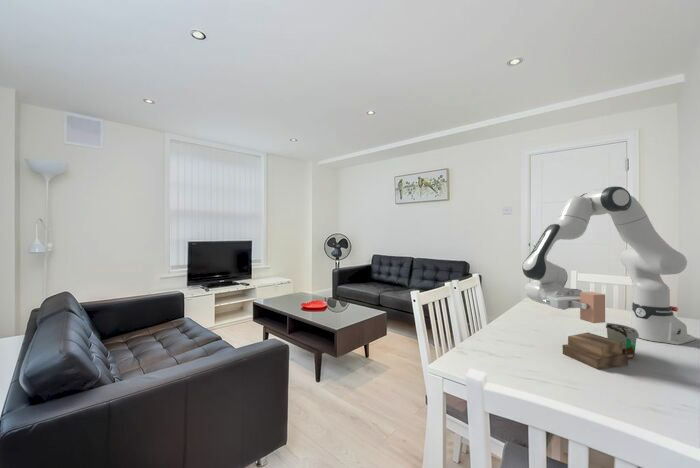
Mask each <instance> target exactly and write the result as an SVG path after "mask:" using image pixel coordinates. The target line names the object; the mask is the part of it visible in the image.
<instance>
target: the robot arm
mask: <svg viewBox="0 0 700 468" xmlns="http://www.w3.org/2000/svg"><path fill="white" fill-rule="evenodd" d="M605 214H608V215H609V216H610V218H611V220H612V222H613V225H614V226H615V229H616V230H617V232H618V235H619V237H620V239H621V240H622V241H623V243H626V244H627V245H629V248H626V249H625V250H623V251H622V252H621V255H620V257H619V258H620V262H621V264H622V265H623V266H624V267H625V268H626V270H627V272H628V274H629V276H630V280H631V283H632V289H633V290H632V291H633V292H632V293H633V302H632V303H631V308H632V309H631V310H632V312H631V313H630V316H629V324H628V325H629V326H628V327H631V328H634V329H636V330H637V332H638V335H639V338H638V339H642V340H646V341H651V342H656V343H657V342H658V343H667V344H672V345H678V346H679V345H683V344H686V343H689V342H692V341H693V342H694V341H696V340H697V338H696V337H695V336H693V335H691V334H688V327H687V325H686V324H685V322H683V321H681V320H680V319H679V318H678V317H676V315H674V312H675V313H677V312H678V310H679V308H678V307H677V306H672V305H671V303H670V301H671V292H670V291H671V290H670V287H669V286H668V285H667V284H666V283H665V282H664V280H663V279H662V276H666V275H668V276H669V275H677V274H678V275H679V274H680V273H682V272H683V271H685V270H686V267H687V266H688V261H687V258H686V256H685V255H684V254H683V253H681V252H680V251H677V250H676V249H674V248H673V247H672V246H670V244H668V242H666V241H665V240H664V239H663V237H661V235H660V234H659V233H658V232H657V230H656V228H655V227H654V226H653V225H654V224H652V221H651V220H650V219H649V216H648V214H647V213H646V211H645V209H644V208H643V206H642V205H641V203H640V202H639V201H638V200H637V199H636V197H634V196H632V195H631V194H630V192H629V191H628V190H627V189H626V188H624V187H622V186H617V185H616V186H608V187H606V188H605V187H604V188H599V189H595V190H593V191H590V192H587V193H583V194H581V195H578V196H577V195H576V196H575V195H574V196H572V197H570V198H568V199H567V201H566V202H565V204H564V205H563V206H562V208H561V210H560V212H559V214H558V216H557V219H556V220H555V222H554V223H552V224H550V225H548V226H547V227H546V228H545V229H544V231H543V232H542V234H541V235H540V237H539V239H538V241H537V242H536V244H535V246H534V247H533V249H532V251H531V252H530V254H529V255H528V256H527V257H526V258H525V259H524V261H523V263H522V266H521V267H522V273H523V275H524V276H525V277H526V278H528V279H531V280H532V281H530V282H527V283H526V284H525V286H524V292H525V295H526V296H527V298H529V299H530V300H532V301H534V302H536V303H539V304H543V305H548V306H550V307H552V308H556V309H558V310H567V309H580V308H583V309H589V304H586V303H580V292H583V290H582V289H577V288H569V287H565V286H566V284H567V281H568V276H569V275H568V272H567V270H566V269H565V268H563V267H561V266H559V265H558V264H555V263H553V262H551V261H549V260H547V256H548V254H549V253H550V251H551V250H552V247H554V244H555V243H556V242H557V241H559V240H560V241H561V240H566V241H567V240H568V241H569V240H570V241H571V240H575V239H578V238H580V237H582V236H583V235H584V234H585V232H586V230H587V228H588V225H589V222H590V220H591V217H592V216H601V215H605ZM630 247H631V248H630ZM661 275H662V276H661Z"/></svg>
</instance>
